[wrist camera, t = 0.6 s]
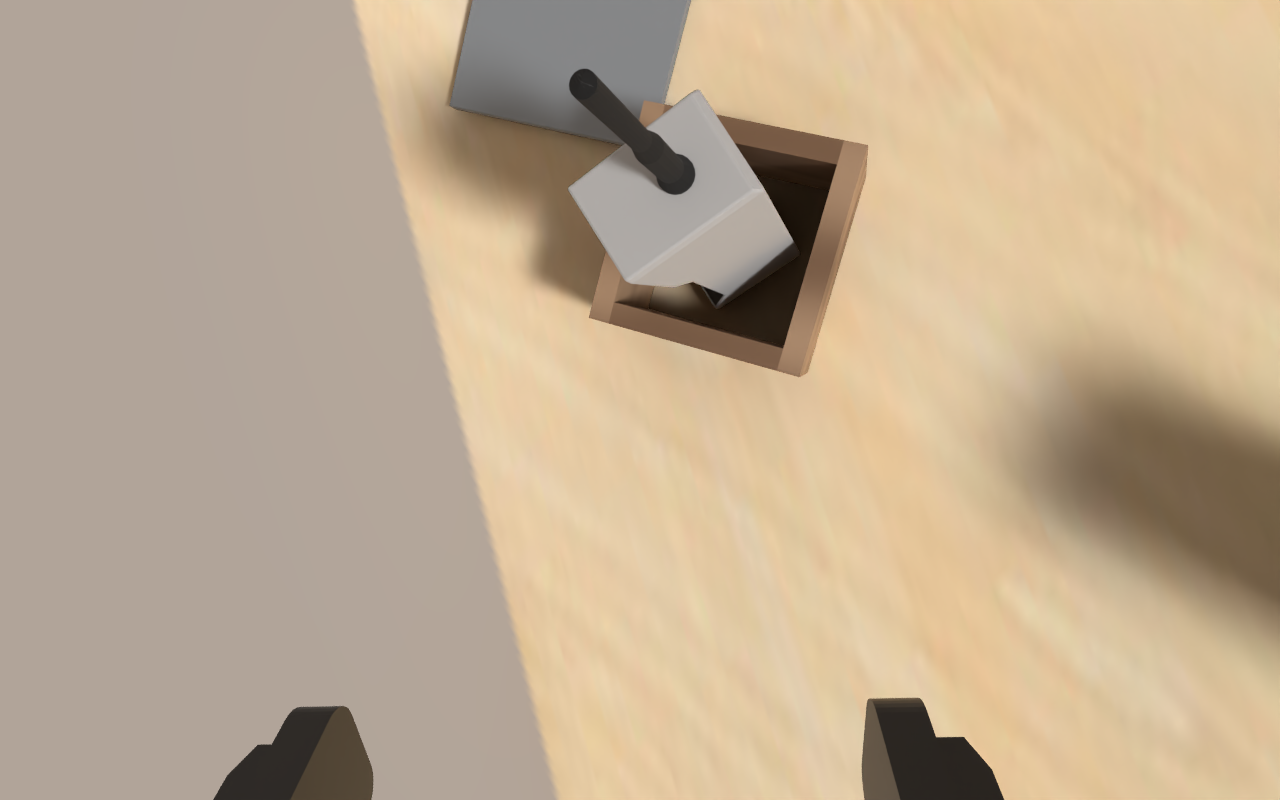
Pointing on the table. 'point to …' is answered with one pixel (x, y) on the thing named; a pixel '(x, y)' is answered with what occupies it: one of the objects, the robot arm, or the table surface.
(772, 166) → the walnut collar
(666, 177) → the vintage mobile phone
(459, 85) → the slate mat
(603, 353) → the table surface
